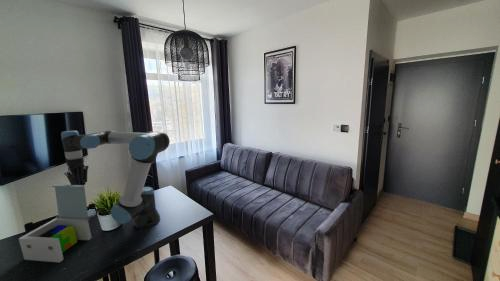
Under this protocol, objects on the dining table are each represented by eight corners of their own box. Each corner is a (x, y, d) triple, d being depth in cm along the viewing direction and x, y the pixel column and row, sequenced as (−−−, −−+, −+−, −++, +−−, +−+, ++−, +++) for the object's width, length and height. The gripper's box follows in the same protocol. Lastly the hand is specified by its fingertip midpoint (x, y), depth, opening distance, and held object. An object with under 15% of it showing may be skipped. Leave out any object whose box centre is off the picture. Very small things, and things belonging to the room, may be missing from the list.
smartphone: (100, 205, 153) (94, 215, 140) (100, 206, 153) (94, 216, 140) (88, 207, 151) (81, 217, 137) (89, 208, 151) (81, 218, 137)
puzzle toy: (61, 240, 115) (58, 225, 113) (77, 242, 114) (73, 226, 112) (42, 254, 106) (37, 237, 103) (58, 255, 104) (54, 238, 102)
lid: (84, 220, 113) (88, 218, 115) (80, 186, 110) (84, 185, 113) (56, 219, 115) (60, 217, 117) (51, 185, 112) (56, 184, 115)
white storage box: (94, 237, 118) (90, 216, 115) (60, 263, 99) (54, 238, 96) (62, 235, 120) (57, 214, 117) (23, 260, 101) (16, 236, 99)
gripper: (79, 154, 123) (86, 190, 128) (56, 160, 110) (65, 200, 115) (90, 154, 122) (97, 191, 127) (69, 161, 109) (77, 201, 114)
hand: (82, 195), depth 121 cm, fingers closed
